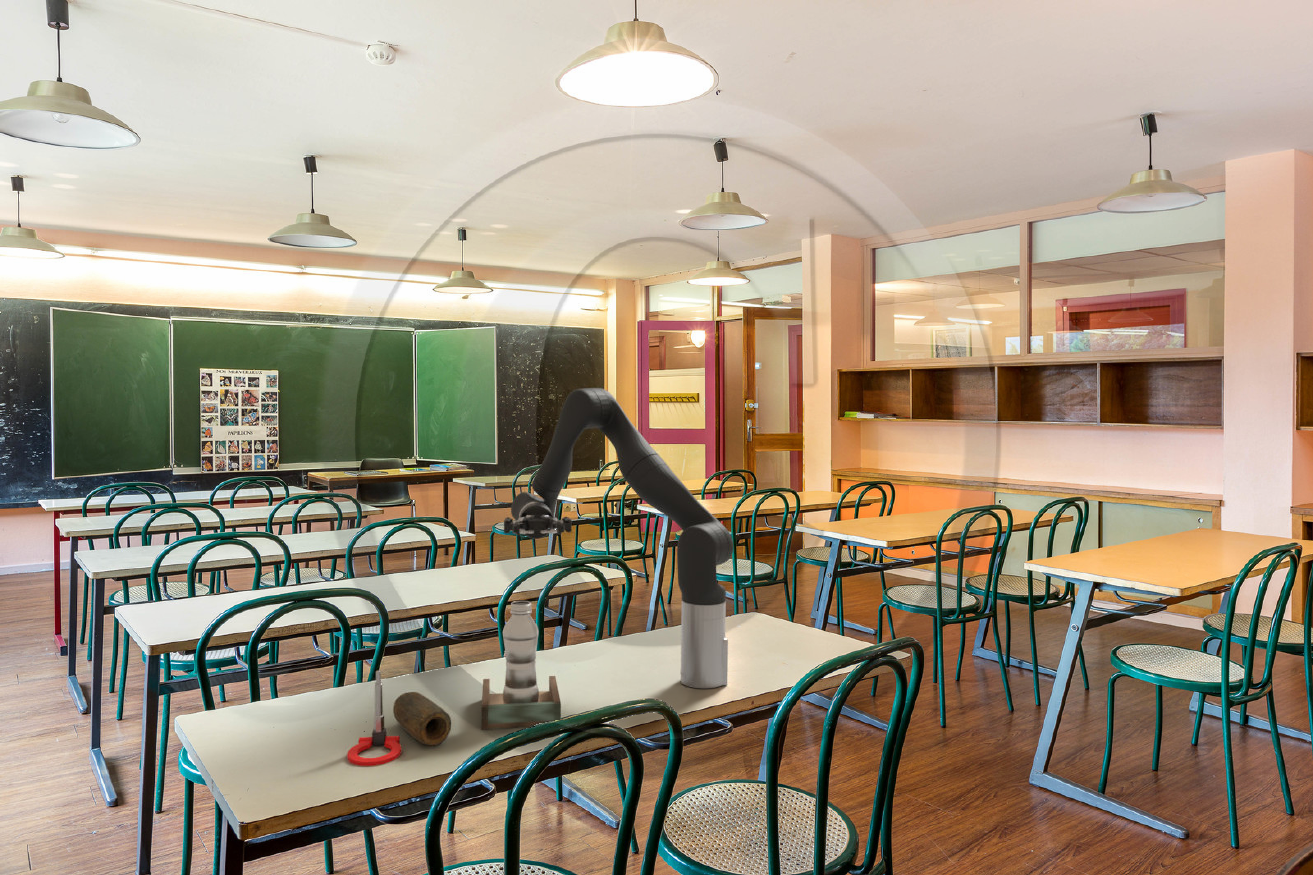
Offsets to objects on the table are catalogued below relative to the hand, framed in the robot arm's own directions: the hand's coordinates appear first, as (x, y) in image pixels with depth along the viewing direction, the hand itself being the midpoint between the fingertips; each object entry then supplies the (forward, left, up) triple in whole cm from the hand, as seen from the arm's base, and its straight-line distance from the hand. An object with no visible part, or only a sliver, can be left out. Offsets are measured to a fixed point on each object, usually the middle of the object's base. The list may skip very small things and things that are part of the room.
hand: (539, 529), depth 176 cm
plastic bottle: (+4, +18, -31) cm, 36 cm away
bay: (+4, +16, -32) cm, 36 cm away
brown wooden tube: (+21, +25, -32) cm, 46 cm away
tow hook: (+28, +32, -32) cm, 54 cm away
